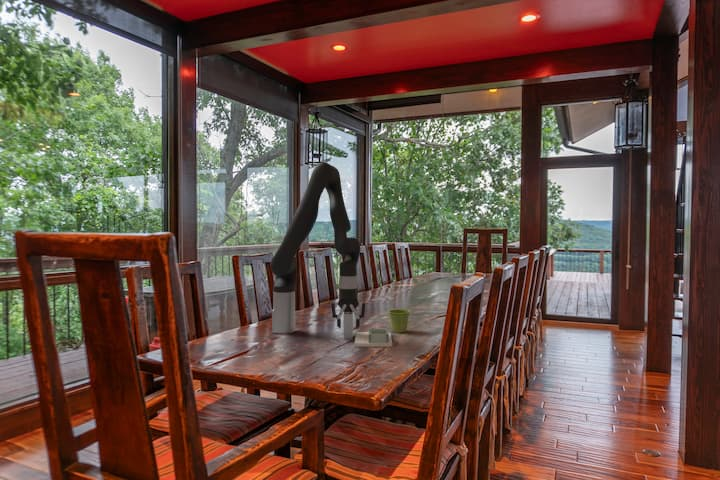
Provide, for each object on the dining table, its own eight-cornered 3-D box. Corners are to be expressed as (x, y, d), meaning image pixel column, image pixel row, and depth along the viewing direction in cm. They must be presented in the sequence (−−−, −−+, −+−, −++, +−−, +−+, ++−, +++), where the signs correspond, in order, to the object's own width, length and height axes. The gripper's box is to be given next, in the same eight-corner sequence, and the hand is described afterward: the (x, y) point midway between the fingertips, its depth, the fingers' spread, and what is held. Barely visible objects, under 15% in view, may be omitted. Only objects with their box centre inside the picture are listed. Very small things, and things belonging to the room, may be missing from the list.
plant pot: (385, 333, 192) (385, 312, 192) (392, 328, 201) (392, 308, 201) (406, 334, 189) (406, 313, 189) (412, 330, 198) (412, 310, 197)
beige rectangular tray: (354, 346, 171) (354, 335, 170) (356, 335, 189) (356, 325, 188) (392, 346, 170) (392, 335, 170) (390, 335, 188) (390, 325, 188)
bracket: (343, 338, 183) (343, 313, 182) (344, 335, 189) (344, 311, 188) (352, 338, 183) (352, 313, 182) (353, 335, 189) (353, 311, 188)
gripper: (329, 288, 182) (329, 330, 182) (365, 288, 181) (366, 330, 182) (331, 285, 189) (331, 326, 190) (366, 285, 189) (366, 326, 189)
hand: (348, 328), depth 186 cm, fingers open, 6 cm apart
